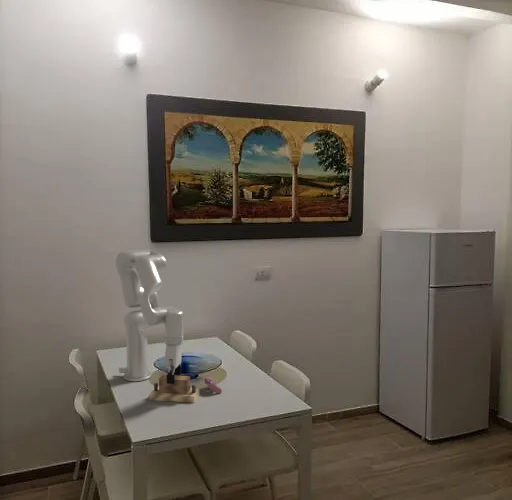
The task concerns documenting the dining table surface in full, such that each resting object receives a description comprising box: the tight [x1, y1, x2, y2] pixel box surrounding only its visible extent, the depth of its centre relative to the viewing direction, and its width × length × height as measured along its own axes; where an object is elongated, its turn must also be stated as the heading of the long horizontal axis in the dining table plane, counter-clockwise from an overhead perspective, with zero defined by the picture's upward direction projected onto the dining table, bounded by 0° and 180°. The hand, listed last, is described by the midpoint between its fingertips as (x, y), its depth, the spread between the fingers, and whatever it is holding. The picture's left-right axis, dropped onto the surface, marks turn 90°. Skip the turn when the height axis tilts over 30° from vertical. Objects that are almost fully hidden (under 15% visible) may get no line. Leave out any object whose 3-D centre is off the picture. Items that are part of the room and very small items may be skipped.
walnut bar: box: [158, 374, 191, 394], centre depth 202 cm, size 12×5×6 cm, turn 82°
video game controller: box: [203, 376, 222, 394], centre depth 210 cm, size 10×5×7 cm, turn 22°
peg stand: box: [149, 382, 200, 403], centre depth 202 cm, size 19×9×6 cm, turn 84°
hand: (173, 379), depth 202 cm, fingers open, 9 cm apart
